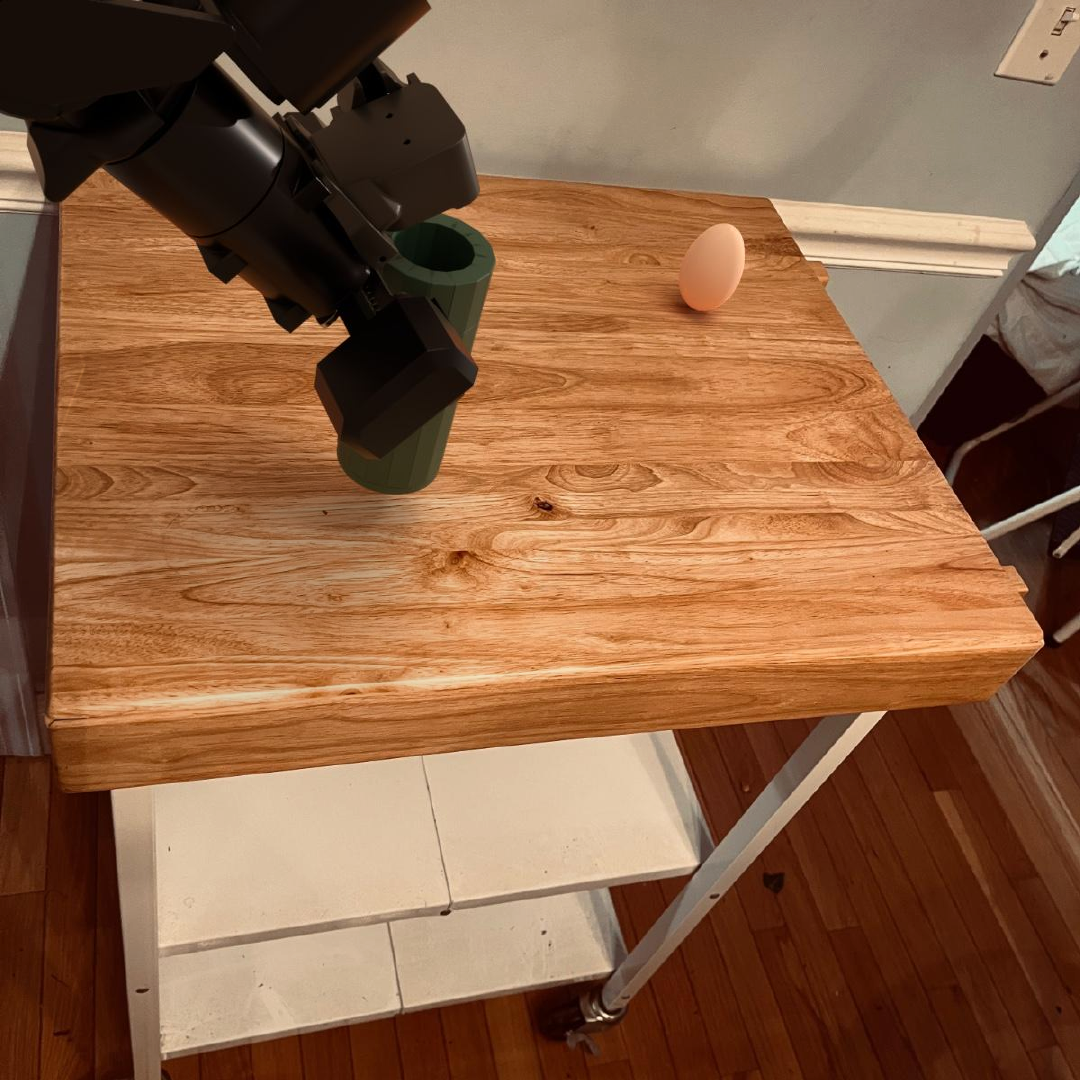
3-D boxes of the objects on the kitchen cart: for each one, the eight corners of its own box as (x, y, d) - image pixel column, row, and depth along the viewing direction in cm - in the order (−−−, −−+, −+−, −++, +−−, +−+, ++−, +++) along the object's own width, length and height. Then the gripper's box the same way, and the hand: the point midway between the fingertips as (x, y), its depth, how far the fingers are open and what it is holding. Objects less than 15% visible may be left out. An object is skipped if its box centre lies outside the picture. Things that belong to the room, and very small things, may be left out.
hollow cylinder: (340, 493, 57) (378, 278, 47) (332, 418, 61) (365, 203, 50) (446, 496, 59) (504, 290, 49) (432, 423, 62) (484, 216, 52)
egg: (734, 322, 85) (771, 243, 79) (687, 328, 83) (721, 247, 77) (704, 285, 87) (737, 206, 82) (657, 290, 85) (688, 209, 80)
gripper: (480, 174, 36) (646, 382, 49) (302, -73, 46) (481, 156, 59) (237, 379, 38) (458, 526, 51) (116, 101, 48) (328, 285, 61)
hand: (433, 358), depth 55 cm, fingers closed on hollow cylinder, 6 cm apart
